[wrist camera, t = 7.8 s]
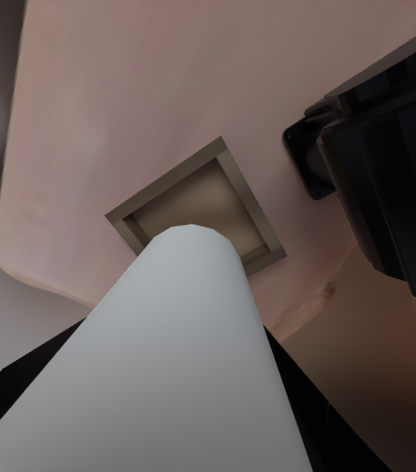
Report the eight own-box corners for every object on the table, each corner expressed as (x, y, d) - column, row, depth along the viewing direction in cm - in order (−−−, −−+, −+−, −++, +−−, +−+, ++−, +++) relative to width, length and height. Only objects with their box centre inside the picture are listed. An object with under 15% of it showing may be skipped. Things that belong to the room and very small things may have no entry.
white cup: (119, 294, 13) (-104, 632, 4) (157, 194, 11) (-158, 442, 2) (218, 331, 14) (225, 681, 5) (272, 247, 12) (481, 598, 3)
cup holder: (279, 243, 21) (287, 255, 19) (184, 293, 23) (181, 309, 21) (219, 137, 18) (220, 135, 15) (117, 207, 20) (104, 215, 18)
